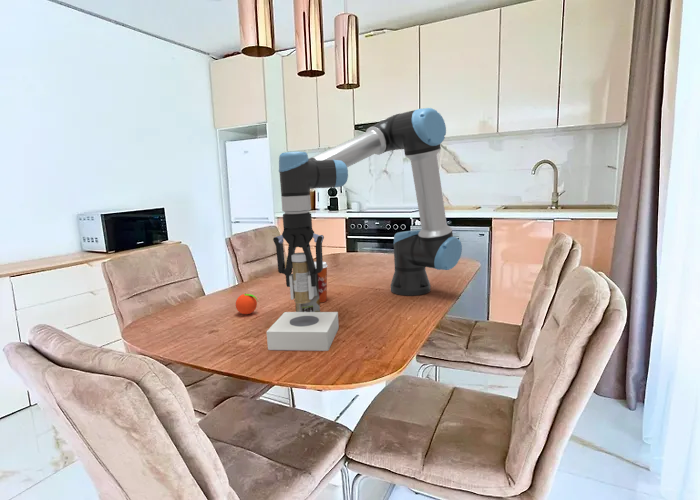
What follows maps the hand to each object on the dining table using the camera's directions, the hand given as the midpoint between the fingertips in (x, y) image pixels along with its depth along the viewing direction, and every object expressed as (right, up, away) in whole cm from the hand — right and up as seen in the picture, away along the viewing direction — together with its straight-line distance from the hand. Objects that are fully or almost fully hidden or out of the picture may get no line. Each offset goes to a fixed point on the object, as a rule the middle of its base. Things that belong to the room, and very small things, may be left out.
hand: (302, 297), depth 111 cm
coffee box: (-1, -9, +21) cm, 23 cm away
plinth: (+1, -11, +2) cm, 12 cm away
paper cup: (+2, -6, +38) cm, 38 cm away
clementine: (-21, -9, +26) cm, 35 cm away
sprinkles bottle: (0, -1, 0) cm, 1 cm away
